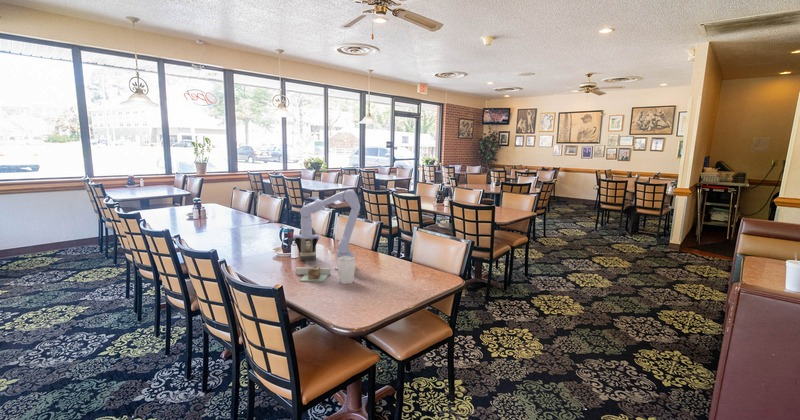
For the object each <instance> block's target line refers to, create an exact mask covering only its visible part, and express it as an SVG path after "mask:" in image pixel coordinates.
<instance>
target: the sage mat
mask: <svg viewBox="0 0 800 420" xmlns="http://www.w3.org/2000/svg"><path fill="white" fill-rule="evenodd" d="M328 276H329V275H320V277H319V279H308V275H303V276H302V277H301V279H300V280H299V282H312V283H325V281H326V280H327V278H328Z"/></svg>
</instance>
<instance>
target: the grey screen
mask: <svg viewBox="0 0 800 420" xmlns="http://www.w3.org/2000/svg"><path fill="white" fill-rule="evenodd" d="M309 268H310V267H300V266H299V267H298V266H297V267H296V268H295V275H301V276H302V275H303V276H304V275H308V269H309ZM320 275H328V276H331V267H320Z"/></svg>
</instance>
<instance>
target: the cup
mask: <svg viewBox="0 0 800 420" xmlns="http://www.w3.org/2000/svg"><path fill="white" fill-rule="evenodd" d="M336 266H338V269H337V271H338V278H339V283H340V284H343V285H348V284H352V283H353V282H354V277H355V273H356V258H355V256H354V257H350V256H344V257H339V258H338V262H337V261H336Z"/></svg>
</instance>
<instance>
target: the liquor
mask: <svg viewBox="0 0 800 420" xmlns="http://www.w3.org/2000/svg"><path fill="white" fill-rule="evenodd" d="M298 235H301V229H300V230H299V233H298ZM312 235H317V234H316V231H315V229H314V228H313V227H312ZM312 240H313V239H301V251H300V252H299V259H300V260H301V261H302V260H303V262H306V261H314V260H316V259H317V246H316V247H315V252H313V243H312Z"/></svg>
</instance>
